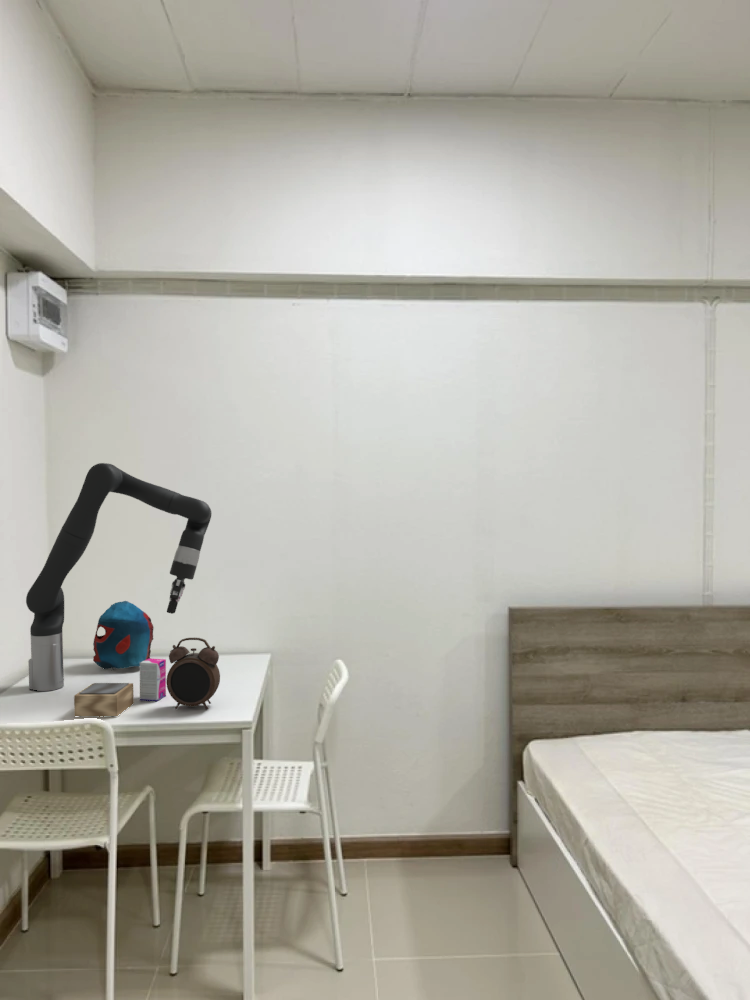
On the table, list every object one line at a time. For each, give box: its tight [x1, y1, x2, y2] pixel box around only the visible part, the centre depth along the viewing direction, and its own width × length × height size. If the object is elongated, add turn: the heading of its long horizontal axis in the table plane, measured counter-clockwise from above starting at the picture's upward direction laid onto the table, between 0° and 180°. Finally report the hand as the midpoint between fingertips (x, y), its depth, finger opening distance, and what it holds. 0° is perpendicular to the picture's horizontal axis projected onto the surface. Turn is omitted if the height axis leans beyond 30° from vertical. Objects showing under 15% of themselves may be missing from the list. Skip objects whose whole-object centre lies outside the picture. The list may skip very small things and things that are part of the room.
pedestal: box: [73, 682, 135, 718], centre depth 208 cm, size 12×12×6 cm
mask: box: [92, 600, 155, 670], centre depth 255 cm, size 18×20×25 cm
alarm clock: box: [166, 637, 221, 710], centre depth 209 cm, size 14×7×20 cm, turn 87°
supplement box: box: [139, 658, 167, 703], centre depth 218 cm, size 6×6×12 cm
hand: (170, 612), depth 229 cm, fingers open, 8 cm apart
